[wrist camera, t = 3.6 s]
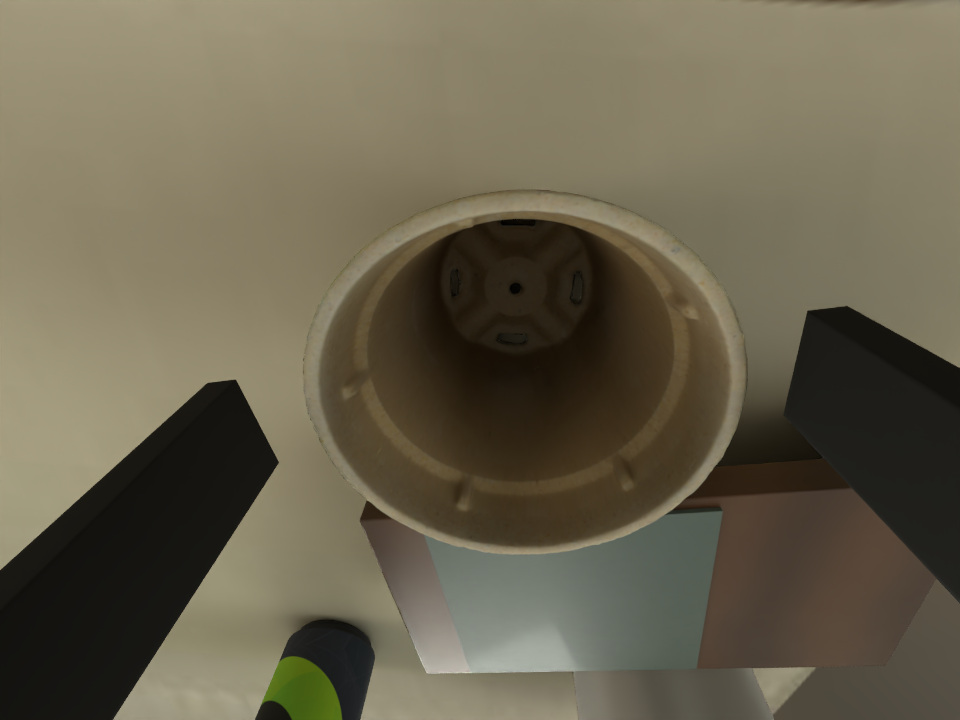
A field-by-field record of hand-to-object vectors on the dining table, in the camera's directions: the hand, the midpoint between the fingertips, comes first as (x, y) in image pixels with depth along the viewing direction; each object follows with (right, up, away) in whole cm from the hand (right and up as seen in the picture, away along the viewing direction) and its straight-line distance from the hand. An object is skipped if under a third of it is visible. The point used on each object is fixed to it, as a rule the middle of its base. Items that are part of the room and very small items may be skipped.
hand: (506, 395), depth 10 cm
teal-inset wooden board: (+7, -7, +12) cm, 16 cm away
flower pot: (+1, +4, +7) cm, 8 cm away
